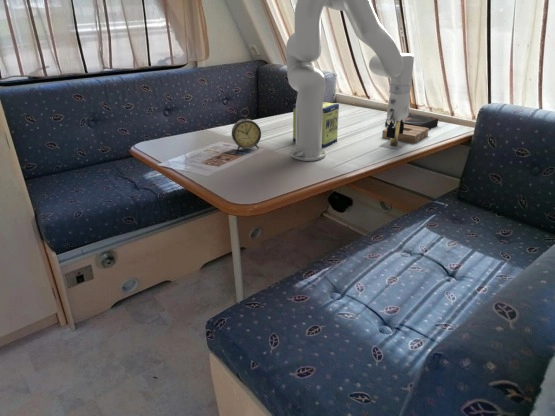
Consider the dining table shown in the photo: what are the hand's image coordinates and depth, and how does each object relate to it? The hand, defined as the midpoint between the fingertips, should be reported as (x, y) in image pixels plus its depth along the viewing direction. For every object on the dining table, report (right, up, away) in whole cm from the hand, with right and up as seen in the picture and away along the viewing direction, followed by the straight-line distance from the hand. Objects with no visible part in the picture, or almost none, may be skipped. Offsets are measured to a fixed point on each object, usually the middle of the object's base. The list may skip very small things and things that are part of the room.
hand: (394, 135), depth 160 cm
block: (+8, +1, +11) cm, 14 cm away
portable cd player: (+15, +8, +27) cm, 32 cm away
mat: (0, -4, +2) cm, 4 cm away
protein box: (-30, -2, +8) cm, 32 cm away
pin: (0, -4, +2) cm, 4 cm away
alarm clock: (-58, -6, +1) cm, 58 cm away
